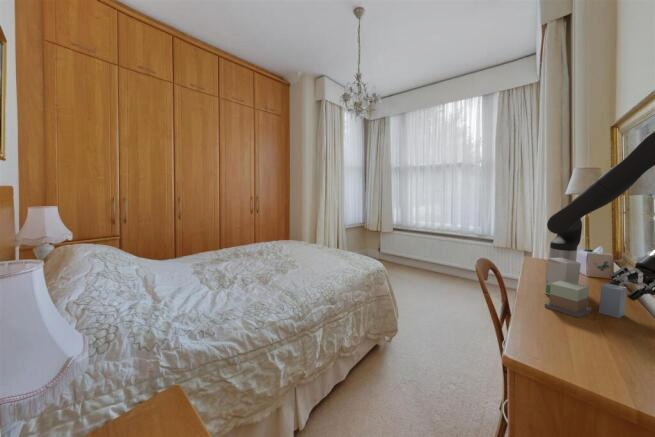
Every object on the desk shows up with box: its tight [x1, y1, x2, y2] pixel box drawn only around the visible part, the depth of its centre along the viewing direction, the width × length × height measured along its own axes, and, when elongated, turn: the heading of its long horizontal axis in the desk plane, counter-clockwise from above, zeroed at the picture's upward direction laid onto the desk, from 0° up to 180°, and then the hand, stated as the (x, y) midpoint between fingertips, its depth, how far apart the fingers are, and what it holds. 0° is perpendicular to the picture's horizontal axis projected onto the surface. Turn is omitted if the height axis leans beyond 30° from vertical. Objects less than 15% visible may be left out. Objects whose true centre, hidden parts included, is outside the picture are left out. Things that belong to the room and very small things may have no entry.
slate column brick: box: [598, 283, 628, 319], centre depth 94 cm, size 5×5×10 cm
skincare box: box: [544, 257, 582, 296], centre depth 109 cm, size 8×7×16 cm
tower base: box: [544, 280, 593, 319], centre depth 99 cm, size 10×10×9 cm
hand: (618, 293), depth 94 cm, fingers open, 8 cm apart
